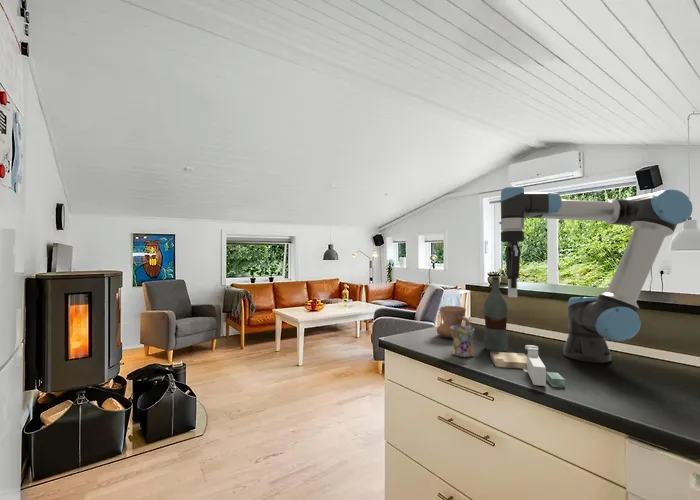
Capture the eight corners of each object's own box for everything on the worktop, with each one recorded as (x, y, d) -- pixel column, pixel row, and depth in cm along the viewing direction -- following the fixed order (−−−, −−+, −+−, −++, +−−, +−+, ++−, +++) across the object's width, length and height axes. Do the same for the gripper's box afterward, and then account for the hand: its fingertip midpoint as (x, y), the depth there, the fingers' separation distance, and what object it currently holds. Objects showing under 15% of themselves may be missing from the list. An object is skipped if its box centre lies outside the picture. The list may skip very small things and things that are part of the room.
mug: (480, 357, 134) (480, 329, 134) (459, 359, 131) (459, 331, 131) (461, 349, 145) (461, 323, 146) (441, 351, 143) (441, 325, 143)
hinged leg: (524, 367, 121) (524, 344, 121) (537, 368, 120) (537, 345, 120) (532, 384, 105) (532, 358, 105) (547, 386, 104) (547, 359, 104)
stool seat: (537, 359, 131) (537, 341, 131) (564, 387, 104) (564, 364, 104) (490, 356, 135) (490, 338, 135) (505, 382, 108) (505, 360, 108)
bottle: (479, 348, 146) (479, 277, 147) (491, 345, 152) (490, 276, 152) (501, 353, 139) (500, 278, 139) (512, 349, 145) (511, 277, 145)
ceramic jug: (428, 335, 170) (428, 306, 170) (450, 331, 177) (450, 303, 177) (455, 344, 155) (456, 312, 154) (479, 340, 162) (479, 309, 161)
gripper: (497, 232, 131) (497, 294, 131) (504, 229, 119) (505, 299, 118) (519, 231, 130) (519, 295, 129) (528, 229, 117) (529, 299, 117)
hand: (512, 297), depth 124 cm, fingers closed
